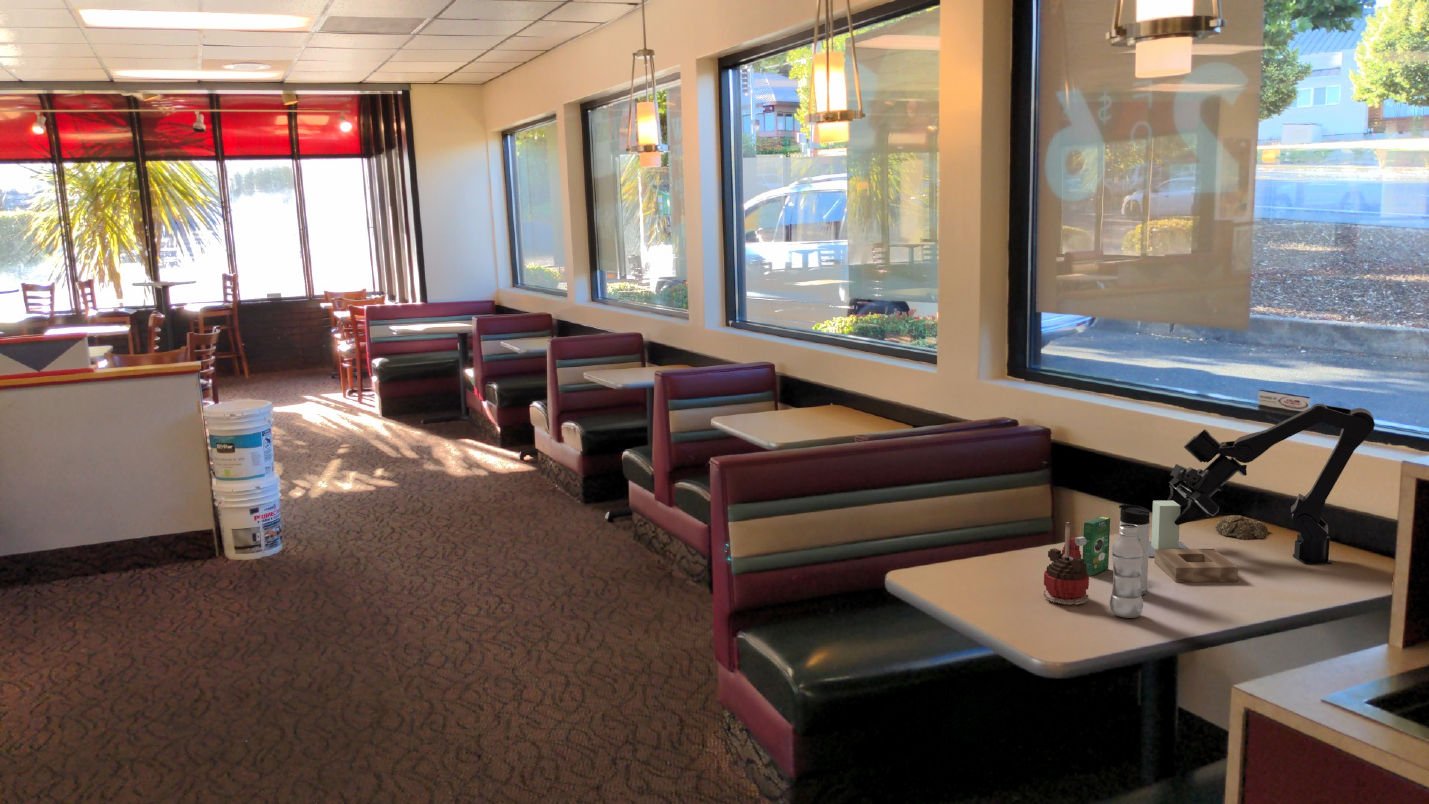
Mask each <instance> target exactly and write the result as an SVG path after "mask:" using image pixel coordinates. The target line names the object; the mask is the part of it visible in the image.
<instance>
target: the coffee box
mask: <svg viewBox="0 0 1429 804" xmlns="http://www.w3.org/2000/svg"><path fill="white" fill-rule="evenodd" d="M1082 530H1083V534H1082V537H1085V539H1086V544H1085V545H1082V555H1081V559H1084V562H1085V563H1086V570H1087V574H1088V575H1090V576H1093V575H1094V576H1095V575H1097V574H1098V573H1099V574H1100V573H1101V572H1105V571H1106V570H1109V562H1110V561H1109V560H1110V558H1109V557H1110V535H1111V534H1110V531H1111V517H1108V516H1102V515H1101V516H1097V517H1094V518H1092V519H1089V520H1085V521H1083V529H1082ZM1090 576H1089V577H1090Z"/></svg>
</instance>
